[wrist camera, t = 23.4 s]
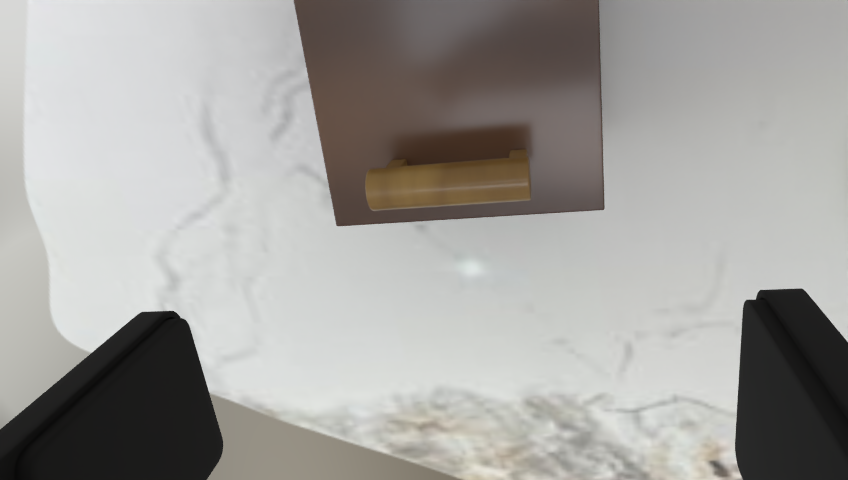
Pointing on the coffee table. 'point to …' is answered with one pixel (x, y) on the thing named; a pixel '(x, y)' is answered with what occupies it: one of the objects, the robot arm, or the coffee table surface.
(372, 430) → the coffee table surface
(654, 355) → the coffee table surface
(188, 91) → the coffee table surface
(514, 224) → the coffee table surface
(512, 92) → the lid
